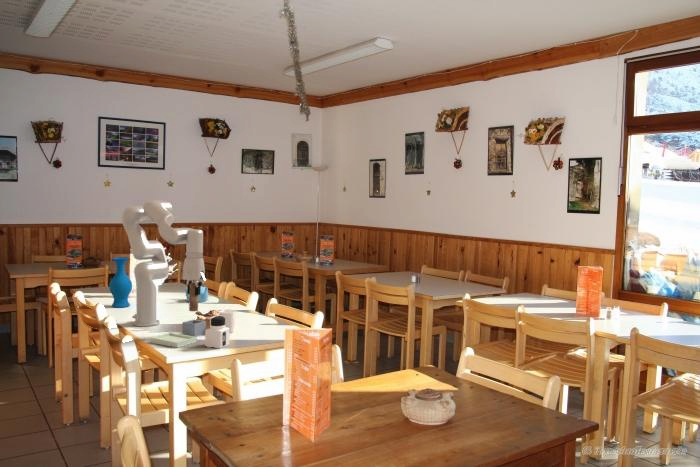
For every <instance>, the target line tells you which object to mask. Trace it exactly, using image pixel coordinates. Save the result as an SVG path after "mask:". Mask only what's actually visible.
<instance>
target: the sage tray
mask: <svg viewBox="0 0 700 467" xmlns="http://www.w3.org/2000/svg"><path fill="white" fill-rule="evenodd" d="M150 343H152V344H157V345H161V346H166V347H171V346H172V348H176V347H178V348H181V347H185V346H187V344H188V345H192V344H195V343H198V336H197V337H193V336H188V335H182V334H181V333H175V332H168V333H163V334H160V335H156V336H153V337H150ZM191 343H192V344H191ZM184 345H185V346H184Z"/></svg>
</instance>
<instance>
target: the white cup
mask: <svg viewBox="0 0 700 467" xmlns="http://www.w3.org/2000/svg"><path fill="white" fill-rule="evenodd" d="M236 312H237V311H236V310H234V309H222V310H219V312H218V316H223V317H225V327H227V328H229V334H230V333H231V334H232V333H234V332H235V326H236Z"/></svg>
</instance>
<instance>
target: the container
mask: <svg viewBox="0 0 700 467" xmlns="http://www.w3.org/2000/svg"><path fill="white" fill-rule="evenodd" d="M204 335H205V338H204V339H205V340H204V341H205V342H204V344H205V345H204V347H205V346H207V347H206V348H211V347H215V348H214V349H219V348H221V349H223V348H225V347H227V346H229V345H230V333H229V328H227V327H225V317H223V316H219V315H215V316H211V317H210V318H209V328H206V330H205V334H204ZM222 347H223V348H222Z"/></svg>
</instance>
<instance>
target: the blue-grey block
mask: <svg viewBox="0 0 700 467" xmlns="http://www.w3.org/2000/svg"><path fill="white" fill-rule="evenodd" d="M206 329H207V321H205V320H200V319H190V320H186V321H183V322H182V335H188V336H193V337H197V338H198V337H200V336H203V335H205V330H206Z"/></svg>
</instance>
